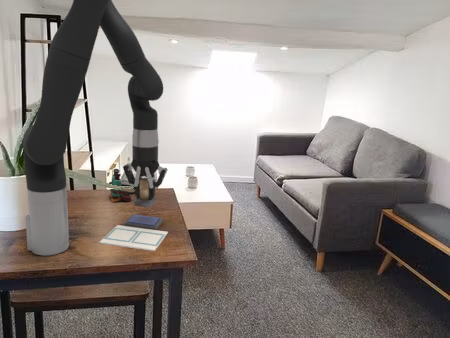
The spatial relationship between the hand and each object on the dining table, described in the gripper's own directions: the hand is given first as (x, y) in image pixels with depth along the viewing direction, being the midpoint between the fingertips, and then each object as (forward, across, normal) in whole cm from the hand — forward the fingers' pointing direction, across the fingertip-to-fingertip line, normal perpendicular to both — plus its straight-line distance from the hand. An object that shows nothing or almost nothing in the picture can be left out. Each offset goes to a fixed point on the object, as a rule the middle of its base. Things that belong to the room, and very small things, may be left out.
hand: (145, 197), depth 121 cm
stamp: (+2, 0, 0) cm, 2 cm away
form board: (+9, +1, -10) cm, 13 cm away
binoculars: (+9, -16, +19) cm, 26 cm away
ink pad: (+9, 0, 0) cm, 9 cm away
